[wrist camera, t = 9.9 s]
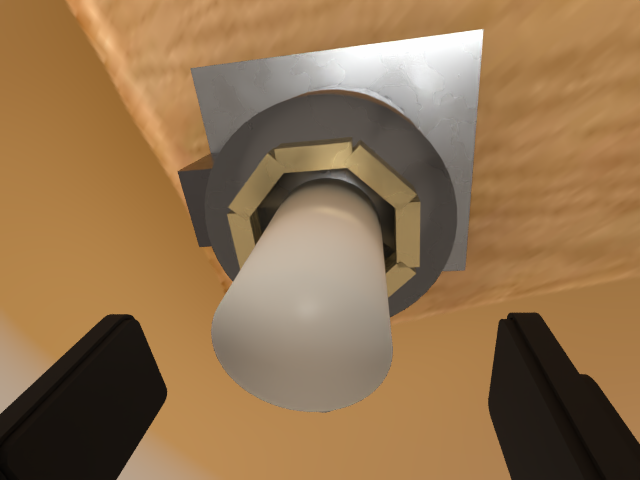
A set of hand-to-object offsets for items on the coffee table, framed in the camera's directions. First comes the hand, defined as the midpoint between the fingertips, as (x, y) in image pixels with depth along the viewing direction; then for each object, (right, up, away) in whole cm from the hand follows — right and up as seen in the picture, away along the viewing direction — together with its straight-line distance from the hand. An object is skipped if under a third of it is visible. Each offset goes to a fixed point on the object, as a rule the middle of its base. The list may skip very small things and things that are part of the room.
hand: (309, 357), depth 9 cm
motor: (+2, +8, +17) cm, 19 cm away
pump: (+1, +4, +8) cm, 8 cm away
